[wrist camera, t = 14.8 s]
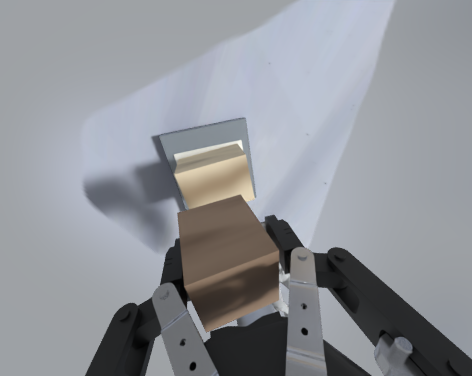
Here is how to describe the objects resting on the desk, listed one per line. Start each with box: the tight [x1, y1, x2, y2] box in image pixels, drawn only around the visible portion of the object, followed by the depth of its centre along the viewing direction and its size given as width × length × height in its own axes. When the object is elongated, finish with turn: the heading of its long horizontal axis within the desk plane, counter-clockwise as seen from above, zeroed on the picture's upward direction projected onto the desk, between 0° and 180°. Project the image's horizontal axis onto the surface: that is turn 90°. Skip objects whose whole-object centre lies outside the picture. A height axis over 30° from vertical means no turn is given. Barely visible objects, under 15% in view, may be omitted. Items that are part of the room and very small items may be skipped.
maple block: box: [174, 144, 255, 209], centre depth 24 cm, size 6×8×5 cm
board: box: [159, 118, 256, 210], centre depth 26 cm, size 12×11×1 cm
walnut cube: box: [177, 194, 279, 332], centre depth 13 cm, size 5×5×6 cm
